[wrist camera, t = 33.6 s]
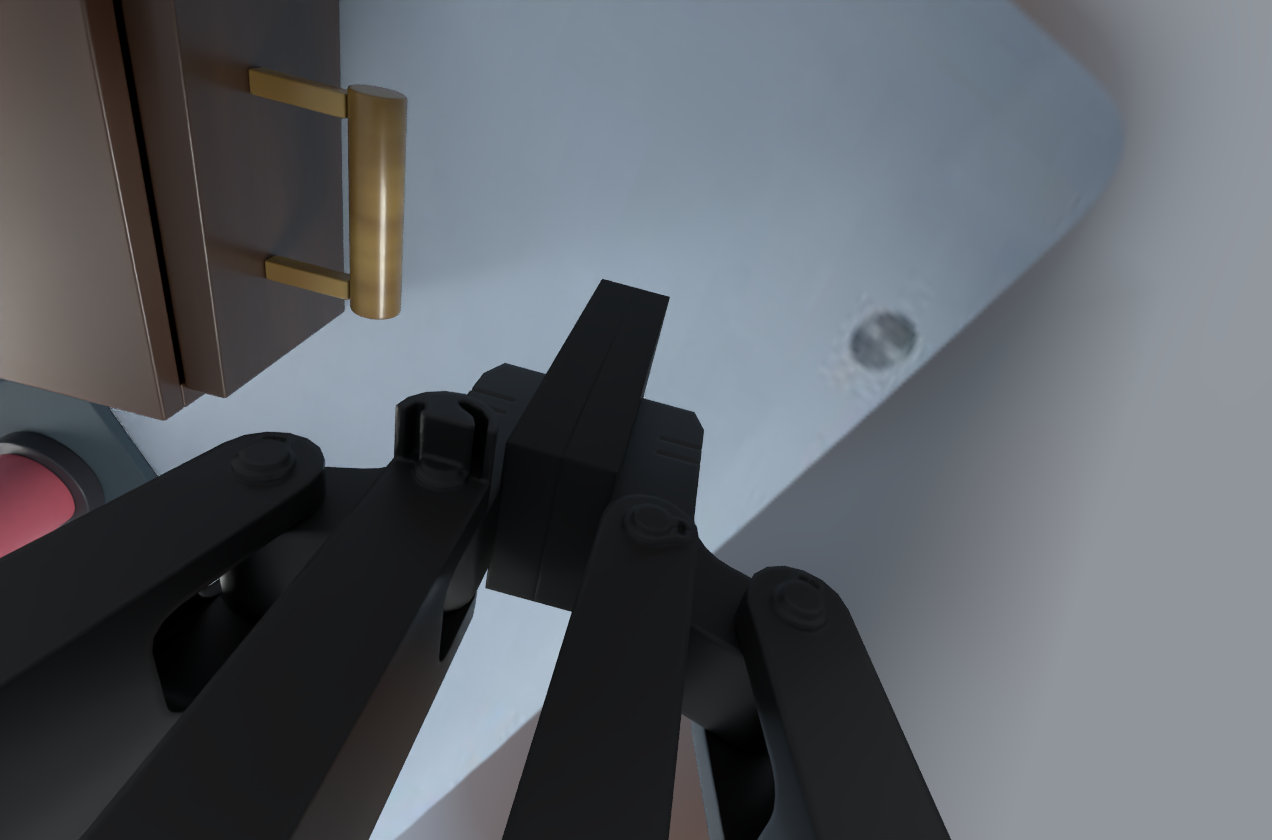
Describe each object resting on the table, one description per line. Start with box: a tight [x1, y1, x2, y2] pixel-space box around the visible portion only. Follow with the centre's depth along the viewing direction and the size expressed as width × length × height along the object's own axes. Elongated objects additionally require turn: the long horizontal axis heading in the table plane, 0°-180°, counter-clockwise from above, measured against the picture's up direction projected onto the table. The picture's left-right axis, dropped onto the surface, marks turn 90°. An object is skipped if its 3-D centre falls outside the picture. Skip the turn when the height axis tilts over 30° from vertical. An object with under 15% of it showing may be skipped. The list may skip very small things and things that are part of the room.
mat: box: [0, 378, 157, 504], centre depth 32 cm, size 10×10×1 cm
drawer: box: [113, 0, 407, 398], centre depth 19 cm, size 17×11×7 cm, turn 77°
